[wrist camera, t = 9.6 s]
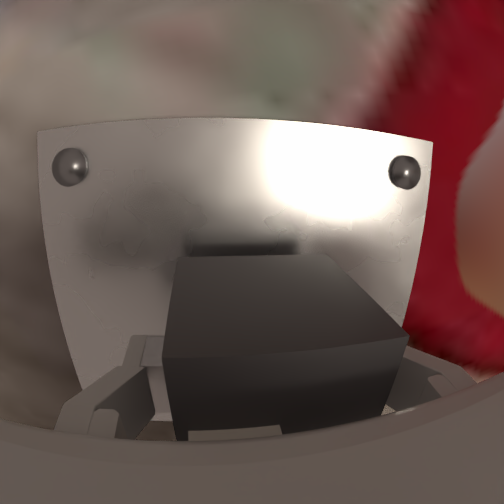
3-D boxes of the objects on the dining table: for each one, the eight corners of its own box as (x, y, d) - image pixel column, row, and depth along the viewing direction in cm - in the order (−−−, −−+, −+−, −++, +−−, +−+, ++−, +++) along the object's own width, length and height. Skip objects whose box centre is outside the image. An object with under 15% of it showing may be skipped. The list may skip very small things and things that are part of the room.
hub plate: (417, 140, 13) (480, 147, 9) (370, 385, 17) (401, 432, 14) (50, 131, 10) (-7, 132, 7) (97, 402, 15) (81, 459, 11)
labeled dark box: (326, 254, 11) (424, 351, 6) (310, 368, 13) (363, 481, 7) (177, 257, 10) (158, 379, 5) (187, 376, 12) (189, 506, 6)
